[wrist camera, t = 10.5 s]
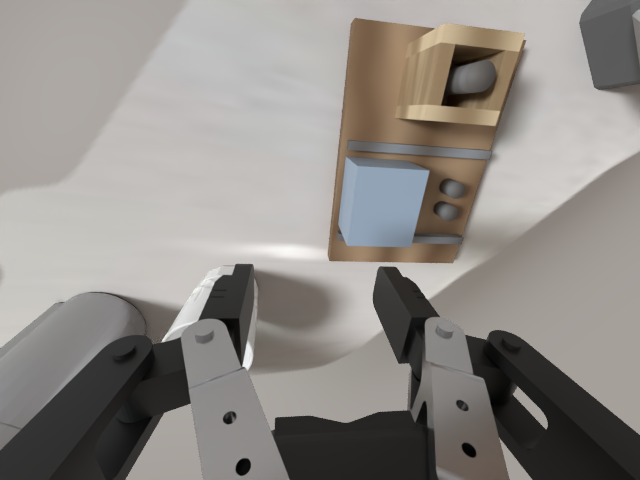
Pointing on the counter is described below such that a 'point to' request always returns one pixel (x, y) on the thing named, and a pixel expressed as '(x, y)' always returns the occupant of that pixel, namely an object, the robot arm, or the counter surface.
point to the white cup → (197, 303)
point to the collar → (461, 49)
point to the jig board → (411, 142)
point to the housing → (380, 201)
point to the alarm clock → (612, 42)
